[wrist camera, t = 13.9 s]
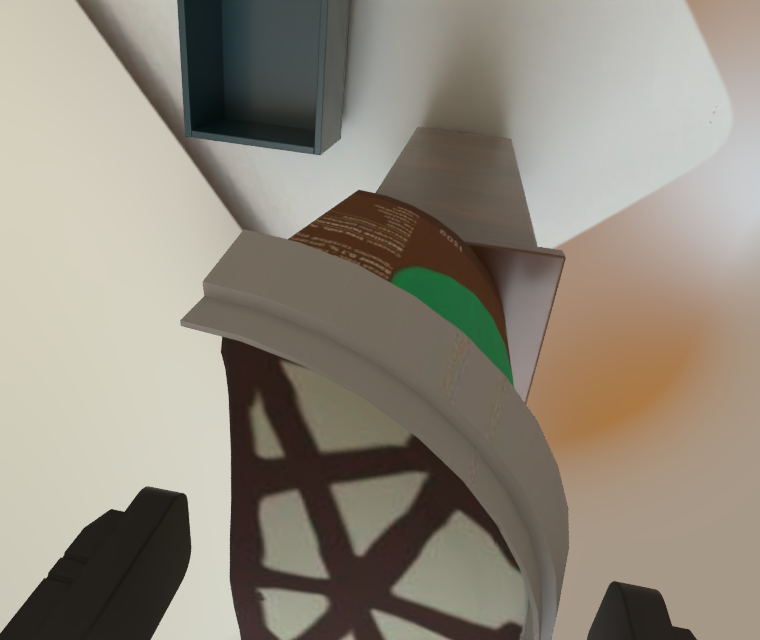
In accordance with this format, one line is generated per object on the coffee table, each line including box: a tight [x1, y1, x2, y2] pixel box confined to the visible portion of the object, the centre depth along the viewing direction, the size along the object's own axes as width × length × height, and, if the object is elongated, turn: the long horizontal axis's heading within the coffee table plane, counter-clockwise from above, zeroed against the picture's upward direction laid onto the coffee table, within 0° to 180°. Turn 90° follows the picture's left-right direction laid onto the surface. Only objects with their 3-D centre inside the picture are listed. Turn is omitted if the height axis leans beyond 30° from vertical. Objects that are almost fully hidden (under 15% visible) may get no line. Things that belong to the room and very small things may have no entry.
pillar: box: [376, 127, 538, 247], centre depth 28 cm, size 6×6×21 cm
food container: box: [181, 190, 569, 640], centre depth 14 cm, size 12×6×10 cm, turn 175°
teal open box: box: [177, 0, 350, 155], centre depth 32 cm, size 8×14×5 cm, turn 174°
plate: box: [458, 235, 565, 404], centre depth 19 cm, size 7×7×1 cm
